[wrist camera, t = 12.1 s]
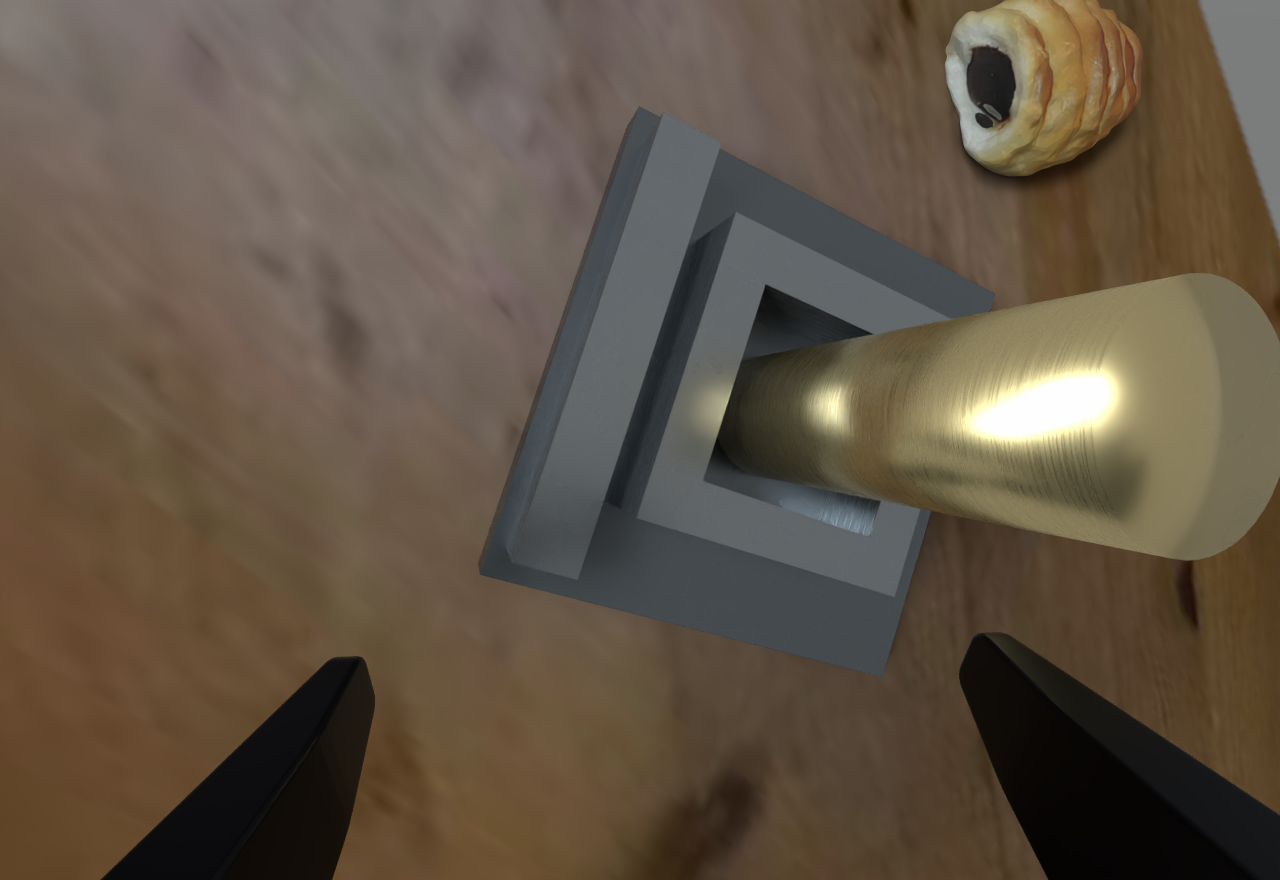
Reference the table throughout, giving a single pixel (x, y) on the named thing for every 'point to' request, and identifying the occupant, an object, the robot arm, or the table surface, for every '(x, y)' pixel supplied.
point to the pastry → (1040, 81)
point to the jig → (711, 410)
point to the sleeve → (1039, 416)
